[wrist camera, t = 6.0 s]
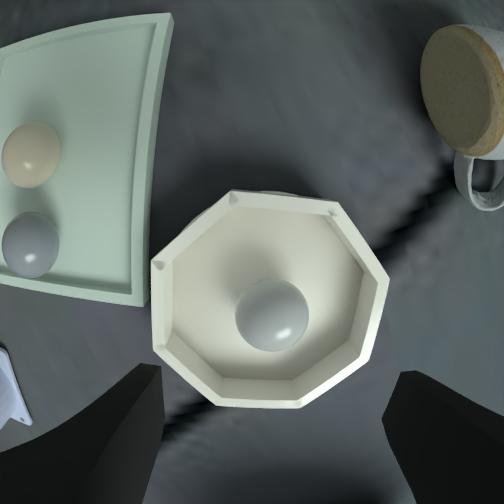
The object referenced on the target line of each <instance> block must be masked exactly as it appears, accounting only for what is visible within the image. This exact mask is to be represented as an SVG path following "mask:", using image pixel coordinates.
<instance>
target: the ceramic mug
mask: <svg viewBox="0 0 504 504" xmlns="http://www.w3.org/2000/svg"><path fill="white" fill-rule="evenodd" d="M420 81H421V89H422V95H423V99H424V103H425V106H426V109H427V112H428V115H429V117H430V119H431V121H432V123H433V125H434V127H435V128H436V130H437V131H438V133H439V134H440V136H441V137H442V138H443V139H444V140H445V142H446V143H447V144H448V145H449V146H451V147H452V148H453V149H455V150H456V155H455V160H454V173H455V183H456V186H457V189H458V191H459V193H460V194H461V195H462V196H463V197H464V198H465V199H466V200H468V201H469V202H470V203H471V204H472V205H473V206H474V207H476V208H477V209H480V210H483V211H492V210H496V209H499V208H500V207H502V206H504V177H503V178H502V180H501V181H500V183H499V184H498V185H497V186H496V188H495V189H493V190H491V191H490V192H477V191H476V190H472V187H471V173H472V169H473V161H474V158H480V159H485V160H502V159H504V32H501V31H497V30H494V29H490V28H486V27H482V26H476V25H467V24H461V25H449V26H446V27H443V28H440V29H439V30H437V31H436V32H435V33H434V34H433V35H432V36H431V37H430V38H429V40H428V42H427V44H426V46H425V49H424V51H423V55H422V59H421V68H420Z"/></svg>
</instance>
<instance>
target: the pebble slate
mask: <svg viewBox="0 0 504 504" xmlns="http://www.w3.org/2000/svg"><path fill="white" fill-rule="evenodd" d="M59 246H60V243H59V236H58V232H57V230H56V228H55V226H54V224H53V223H52V222H51V220H50V219H49V218H47V217H46V216H45V215H43V214H41V213H38V212H32V211H31V212H24V213H21V214H19V215H17V216H16V217H14V218H13V219H12V220H11V221H10V222H9V223H8V225H7V226H6V228H5V230H4V233H3V236H2V254H3V257H4V260H5V262H6V264H7V265H8V267H9V268H10V269H11V270H12V271H13V272H14V273H16V274H17V275H19V276H22V277H25V278H35V277H39V276H41V275H43V274H45V273H46V272H48V271H49V270H50V269H51V267H52V266H53V265H54V263H55V261H56V259H57V257H58V253H59Z"/></svg>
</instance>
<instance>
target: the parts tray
mask: <svg viewBox="0 0 504 504" xmlns="http://www.w3.org/2000/svg"><path fill="white" fill-rule="evenodd" d="M174 24H175V22H174V20H173V17H172V15H171V13H157V14H145V15H135V16H127V17H119V18H113V19H106V20H101V21H95V22H90V23H85V24H80V25H76V26H71V27H67V28H63V29H59V30H55V31H52V32H48V33H44V34H41V35H38V36H35V37H31V38H28V39H25V40H22V41H19V42H17V43H14V44H11V45H8V46H6V47H3V48H1V49H0V283H2V284H7V285H11V286H16V287H21V288H26V289H31V290H36V291H42V292H47V293H53V294H58V295H64V296H70V297H76V298H82V299H89V300H95V301H102V302H109V303H116V304H123V305H130V306H138V307H144V305H145V304H146V303H147V301H148V300H149V241H150V213H151V194H152V179H153V166H154V155H155V145H156V135H157V127H158V118H159V110H160V103H161V96H162V89H163V83H164V76H165V70H166V65H167V59H168V54H169V48H170V43H171V38H172V33H173V28H174ZM29 121H41V122H44V123H47V124H48V125H50V126H51V127H52V128H53V129H54V130H55V131H56V132H57V134H58V136H59V138H60V141H61V147H62V154H61V159H60V163H59V166H58V168H57V170H56V171H55V173H54V174H53V176H52V177H51V178H50V179H49V180H48V181H46V182H45V183H43V184H41V185H39V186H37V187H33V188H23V187H19V186H17V185H15V184H13V183H12V182H11V181H10V180H9V179H8V178H7V176H6V175H5V173H4V170H3V167H2V162H1V155H2V149H3V146H4V143H5V141H6V139H7V137H8V136H9V135H10V133H11V132H12V131H13V130H14V129H15V128H16V127H18V126H19V125H21V124H23V123H26V122H29ZM31 211H32V212H38V213H41V214H43V215H45V216H46V217H47V218H49V219H50V220H51V222H52V223H53V224H54V226H55V228H56V230H57V232H58V236H59V243H60V246H59V253H58V257H57V259H56V261H55V263H54V265H53V266H52V267H51V269H50V270H49V271H48V272H46V273H45V274H43V275H41V276H39V277H35V278H25V277H22V276H19V275H17V274H16V273H14V272H13V271H12V270H11V269H10V268H9V267H8V265H7V264H6V262H5V260H4V257H3V254H2V236H3V233H4V230H5V228H6V226H7V225H8V223H9V222H10V221H11V220H12V219H13V218H14V217H16V216H17V215H19V214H21V213H24V212H31Z"/></svg>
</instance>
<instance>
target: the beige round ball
mask: <svg viewBox="0 0 504 504" xmlns="http://www.w3.org/2000/svg"><path fill="white" fill-rule="evenodd" d="M61 154H62V147H61V141H60V138H59V136H58V134H57V132H56V131H55V130H54V129H53V128H52V127H51V126H50V125H48V124H47V123H44V122H41V121H29V122H26V123H23V124H21V125H19V126H18V127H16V128H15V129H14V130H13V131H12V132H11V133H10V135H9V136H8V137H7V139H6V141H5V143H4V146H3V149H2V155H1V162H2V167H3V170H4V173H5V175H6V176H7V178H8V179H9V180H10V181H11V182H12V183H13V184H15V185H17V186H19V187H23V188H33V187H37V186H39V185H41V184H43V183H45V182H46V181H48V180H49V179H50V178H51V177H52V176H53V174H54V173H55V171H56V170H57V168H58V166H59V163H60V159H61Z"/></svg>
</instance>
